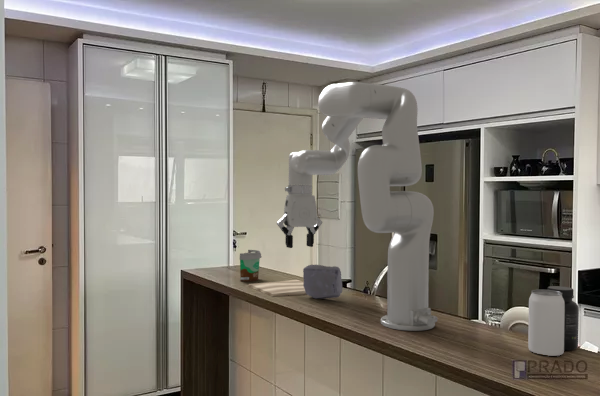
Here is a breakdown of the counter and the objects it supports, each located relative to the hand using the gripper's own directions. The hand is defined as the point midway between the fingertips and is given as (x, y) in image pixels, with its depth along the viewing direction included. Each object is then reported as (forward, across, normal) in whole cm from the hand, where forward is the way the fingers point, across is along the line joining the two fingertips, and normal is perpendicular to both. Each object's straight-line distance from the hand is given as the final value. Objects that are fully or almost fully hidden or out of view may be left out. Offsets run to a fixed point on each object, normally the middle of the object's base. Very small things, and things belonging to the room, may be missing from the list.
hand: (299, 246), depth 169 cm
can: (+13, +13, -79) cm, 82 cm away
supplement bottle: (+13, +20, -78) cm, 81 cm away
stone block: (+14, -1, -16) cm, 22 cm away
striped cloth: (+14, -4, +2) cm, 15 cm away
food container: (+14, -6, +24) cm, 28 cm away
